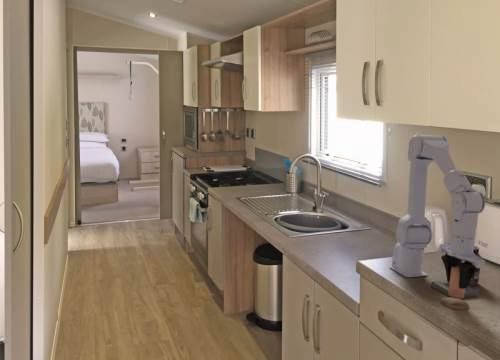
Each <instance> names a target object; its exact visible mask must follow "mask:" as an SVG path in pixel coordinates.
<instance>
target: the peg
mask: <svg viewBox="0 0 500 360" xmlns="http://www.w3.org/2000/svg"><path fill="white" fill-rule="evenodd" d="M459 279H460V273H459V267H458V266H452V267H451V275H450V283H449V290H448V295H450V296H452V297H455V298H457V299H463V298H465V297H464V293H465V289H461V288H459ZM448 295H447V296H448Z"/></svg>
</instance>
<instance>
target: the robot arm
mask: <svg viewBox="0 0 500 360" xmlns="http://www.w3.org/2000/svg"><path fill="white" fill-rule="evenodd" d="M449 150H450V143H449V141H448V139H447V137H446V136H445V135H427V134H413V136H412V137H411V139H410V140H409V141H408V149H407V160H408V161H409V162H410V163H409V164H410V165H409V180H408V195H407V197H408V198H407V214H405V215H404V216H403V217H402V218H400V219H399V220H398V222H397V228H396V230H395V238H396V242H397V243H396V244H395V245H394V247H393V250H392V261H391V265H389V267H388V268H389V269H392V270H393V271H395V272H396V273H398V274H399V275H402V276H403V277H406V278H415V277H426V276H428V273H426V272H425V271H423V263H424V257H425V248H428V246H429V244H430V243H431V242H432V240H433V231H432V222H431V221H430V220H429V219H428V218H427V216H425V215H426V213H425V212H426V200H427V199H426V198H427V183H428V167H429V165H431V163H432V162H435V164H436V165H437V167H438V168H439V170H440V171H441V172H442V174H443V176H444V177H443V181H442V182H443V183H444V186H445V188H446V189H447V191H448V193H449V195H450V196H451V200H450V205H451V209H452V215H451V216H452V218H453V223H452V224H453V225H452V232H451V239H450V244H447V243H440V244H439V247H438V251H439V252H440V253H445V254H444V255H441V261H442V263H443V265H444V268H445V274H446V280H447V282H450V275H451V267H452V266H458V267H459V273H460V279H459V288H461V289H465V288H467V287H468V286H470V285H469V283H470V280H471V278H472V277H473V275H474V274H475V272H476V271H477V270H478V269H479V268H480V269H484V268H485V264H486V263H485V262H486V260H484V259H482V257H481V258H479V257H478V256H476V255H475V254H474V253H473V250H474V246H475V243H476V241H475V240H476V235H477V228H478V220H479V214H481V213H483V212H484V210H485V207H486V199H485V197H484V194H483V192H482V191H478V190H477V189H476V188H474V187H473V186H472V184H471V182H470V181H469V179H468V178H467V176H466V173H464V171H462V170H459V169H457V166H456V165H455V163H454V161H453V159H452V157H451V154H450V152H449ZM461 260H463V261H465V262H463V263H460V262H461Z"/></svg>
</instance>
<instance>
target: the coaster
mask: <svg viewBox="0 0 500 360" xmlns="http://www.w3.org/2000/svg"><path fill="white" fill-rule="evenodd" d="M440 303H441V304H442V306H444V307H447V308H449V309H453V310H460V311H461V310H463V311H464V310H467V309H469V303H468V302H467V301H465V300H463V299H461V298H451V297H449V296H446V297H442V298H441V299H440Z"/></svg>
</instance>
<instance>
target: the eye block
mask: <svg viewBox="0 0 500 360" xmlns="http://www.w3.org/2000/svg"><path fill="white" fill-rule="evenodd" d="M449 283H450V282H447V279H446V280H434V281H433V280H432V281H431V286H430V287H431V288H433V289H435V290H437V291H438V292H440V293H441V294H445V295H446V296H447V297H451V298H455V297H452V296H450V295H448V290H449ZM479 292H480V291H479V290H478V289H477V288H474V287H472V286H471V285H468V287H467V288H465V293H464V297H463V298H470V297H478V296H479Z"/></svg>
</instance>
